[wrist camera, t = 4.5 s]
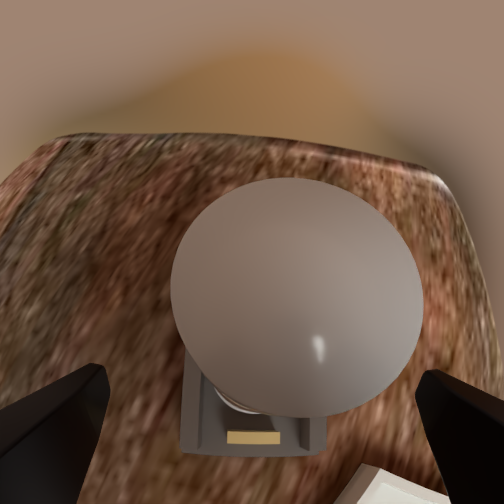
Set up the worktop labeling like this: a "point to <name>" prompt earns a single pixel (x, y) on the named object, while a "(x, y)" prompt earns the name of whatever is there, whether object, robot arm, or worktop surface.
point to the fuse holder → (240, 425)
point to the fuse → (296, 298)
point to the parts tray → (385, 489)
